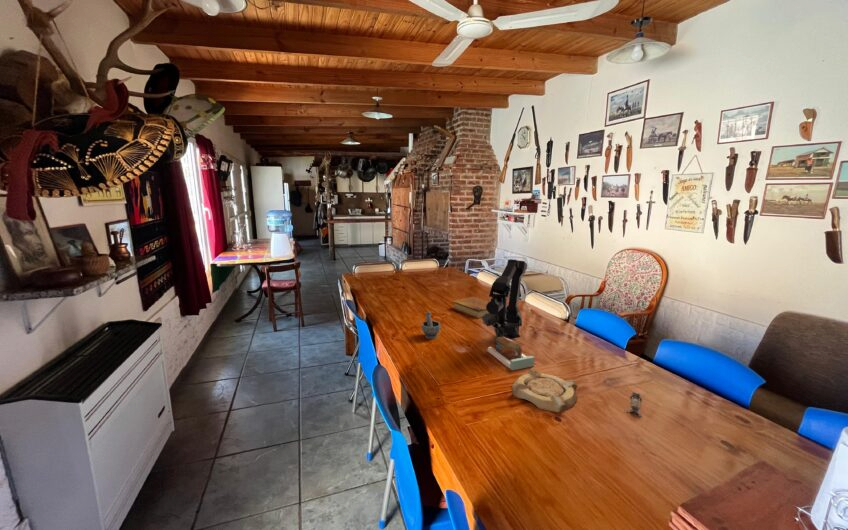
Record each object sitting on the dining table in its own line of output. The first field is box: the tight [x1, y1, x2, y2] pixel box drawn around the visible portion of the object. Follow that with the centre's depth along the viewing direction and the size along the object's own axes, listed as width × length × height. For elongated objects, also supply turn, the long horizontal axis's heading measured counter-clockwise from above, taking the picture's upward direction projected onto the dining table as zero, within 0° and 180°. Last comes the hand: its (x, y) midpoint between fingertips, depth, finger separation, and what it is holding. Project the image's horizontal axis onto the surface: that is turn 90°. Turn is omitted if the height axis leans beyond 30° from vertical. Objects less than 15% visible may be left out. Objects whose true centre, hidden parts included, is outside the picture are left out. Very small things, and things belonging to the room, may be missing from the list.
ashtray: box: [511, 368, 579, 413], centre depth 127 cm, size 24×24×5 cm
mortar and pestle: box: [421, 311, 442, 340], centre depth 178 cm, size 11×9×12 cm
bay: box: [487, 346, 535, 371], centre depth 154 cm, size 11×20×4 cm, turn 20°
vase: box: [623, 391, 643, 417], centre depth 116 cm, size 5×5×6 cm
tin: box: [494, 335, 523, 361], centre depth 155 cm, size 15×3×8 cm, turn 31°
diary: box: [452, 296, 490, 319], centre depth 219 cm, size 23×19×6 cm
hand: (498, 339), depth 163 cm, fingers closed
